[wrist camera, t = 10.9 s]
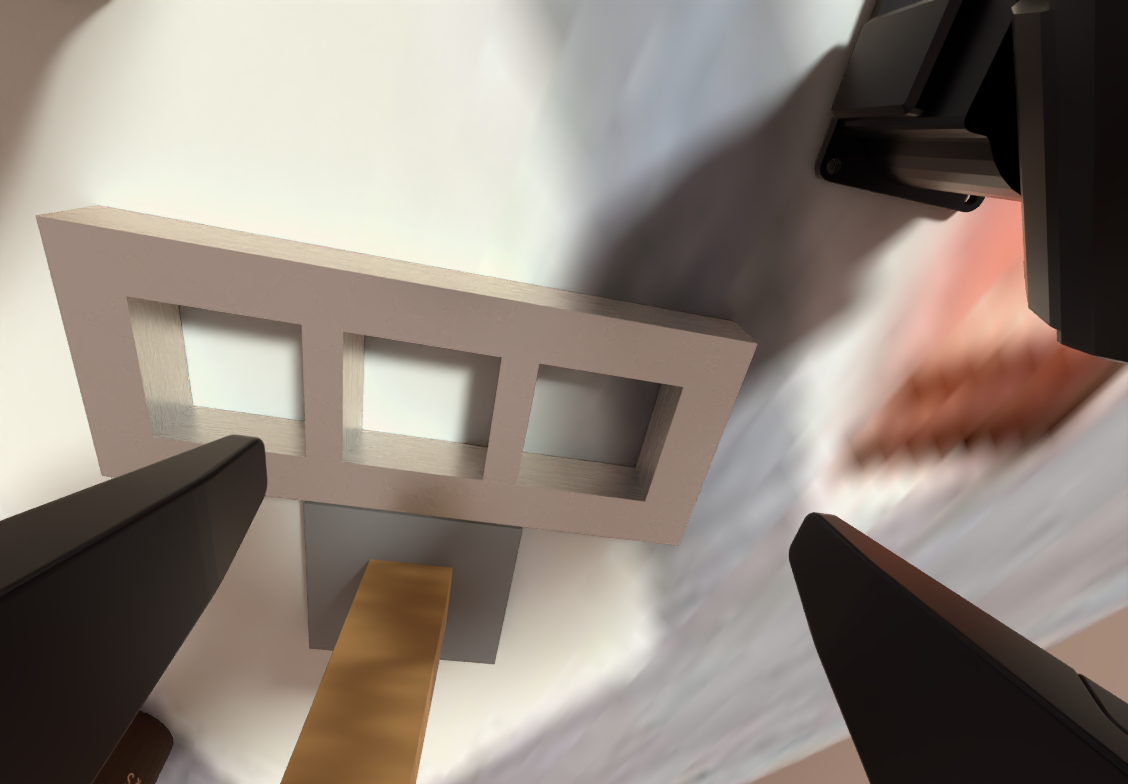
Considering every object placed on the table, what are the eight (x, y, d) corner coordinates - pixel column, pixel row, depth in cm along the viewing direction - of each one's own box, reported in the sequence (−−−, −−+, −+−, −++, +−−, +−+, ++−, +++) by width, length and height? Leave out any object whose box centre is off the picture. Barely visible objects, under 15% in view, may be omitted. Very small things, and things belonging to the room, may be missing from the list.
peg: (452, 567, 25) (405, 805, 16) (446, 622, 27) (400, 864, 18) (370, 559, 25) (273, 800, 16) (368, 615, 26) (281, 861, 17)
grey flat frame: (734, 321, 21) (757, 343, 19) (666, 509, 25) (678, 545, 23) (98, 205, 18) (36, 215, 16) (145, 442, 22) (101, 475, 20)
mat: (522, 515, 25) (522, 529, 24) (495, 648, 29) (494, 664, 29) (312, 489, 24) (303, 503, 23) (316, 632, 28) (309, 648, 27)
